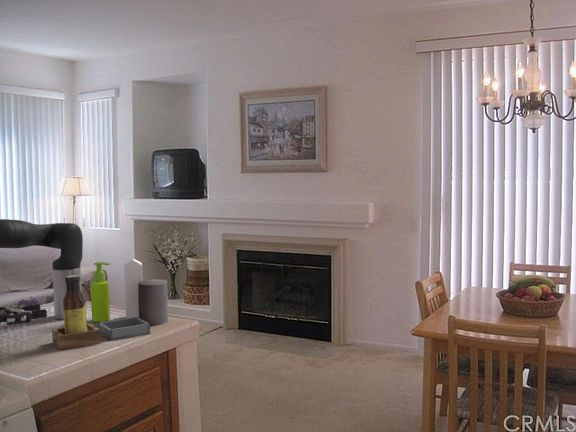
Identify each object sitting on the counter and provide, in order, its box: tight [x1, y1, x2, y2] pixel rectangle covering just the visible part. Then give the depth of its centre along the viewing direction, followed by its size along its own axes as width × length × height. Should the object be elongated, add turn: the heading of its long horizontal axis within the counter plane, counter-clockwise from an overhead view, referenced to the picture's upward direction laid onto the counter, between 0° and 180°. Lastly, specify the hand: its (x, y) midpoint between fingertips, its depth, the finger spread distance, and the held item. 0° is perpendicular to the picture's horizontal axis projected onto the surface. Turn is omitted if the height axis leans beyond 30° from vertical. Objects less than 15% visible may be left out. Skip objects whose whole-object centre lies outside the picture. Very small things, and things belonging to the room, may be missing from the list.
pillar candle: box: [138, 277, 169, 326], centre depth 189 cm, size 10×10×15 cm
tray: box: [97, 317, 151, 341], centre depth 176 cm, size 11×12×3 cm
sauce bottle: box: [63, 275, 88, 335], centre depth 165 cm, size 6×6×20 cm
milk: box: [123, 253, 144, 319], centre depth 196 cm, size 6×6×22 cm
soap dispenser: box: [90, 261, 111, 323], centre depth 193 cm, size 6×7×20 cm
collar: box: [51, 322, 101, 351], centre depth 165 cm, size 10×11×4 cm
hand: (43, 310), depth 160 cm, fingers open, 8 cm apart
